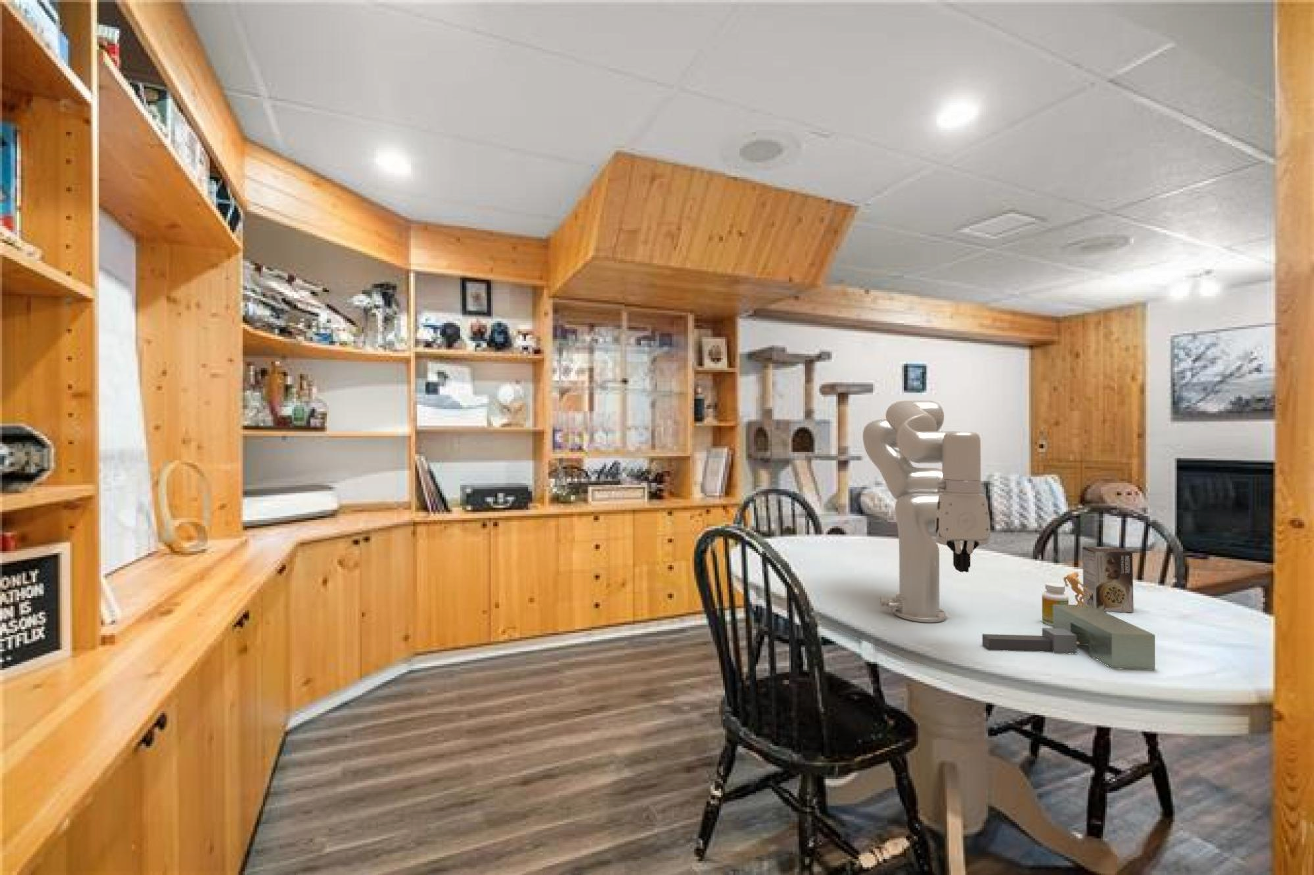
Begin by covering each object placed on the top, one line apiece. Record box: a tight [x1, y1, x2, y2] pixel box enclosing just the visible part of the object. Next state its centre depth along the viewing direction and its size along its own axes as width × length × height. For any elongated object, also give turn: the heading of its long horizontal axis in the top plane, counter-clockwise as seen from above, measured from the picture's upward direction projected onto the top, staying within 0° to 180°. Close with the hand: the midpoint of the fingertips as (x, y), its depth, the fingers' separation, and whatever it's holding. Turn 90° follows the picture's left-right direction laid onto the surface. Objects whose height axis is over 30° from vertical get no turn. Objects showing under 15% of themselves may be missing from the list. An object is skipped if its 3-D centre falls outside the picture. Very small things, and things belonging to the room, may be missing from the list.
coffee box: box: [1082, 546, 1135, 613], centre depth 154 cm, size 9×6×16 cm
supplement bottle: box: [1041, 582, 1070, 627], centre depth 142 cm, size 5×5×10 cm
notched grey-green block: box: [1052, 604, 1156, 670], centre depth 124 cm, size 8×20×7 cm, turn 174°
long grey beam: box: [981, 627, 1080, 655], centre depth 125 cm, size 18×4×4 cm, turn 84°
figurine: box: [1062, 571, 1091, 605], centre depth 145 cm, size 8×6×12 cm
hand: (961, 570), depth 127 cm, fingers closed
